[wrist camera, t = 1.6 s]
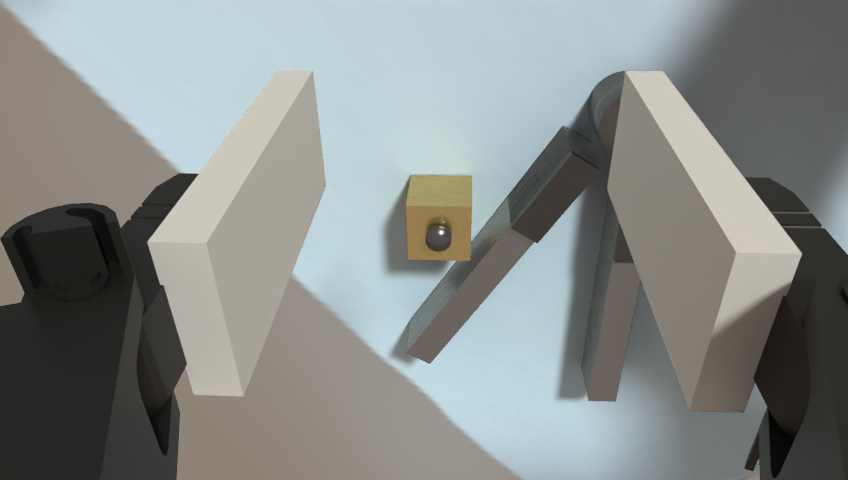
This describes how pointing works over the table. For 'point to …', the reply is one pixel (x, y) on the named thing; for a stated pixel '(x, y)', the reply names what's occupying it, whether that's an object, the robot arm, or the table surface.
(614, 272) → the base
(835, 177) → the table surface
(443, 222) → the block
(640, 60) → the table surface
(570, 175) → the tong arm
